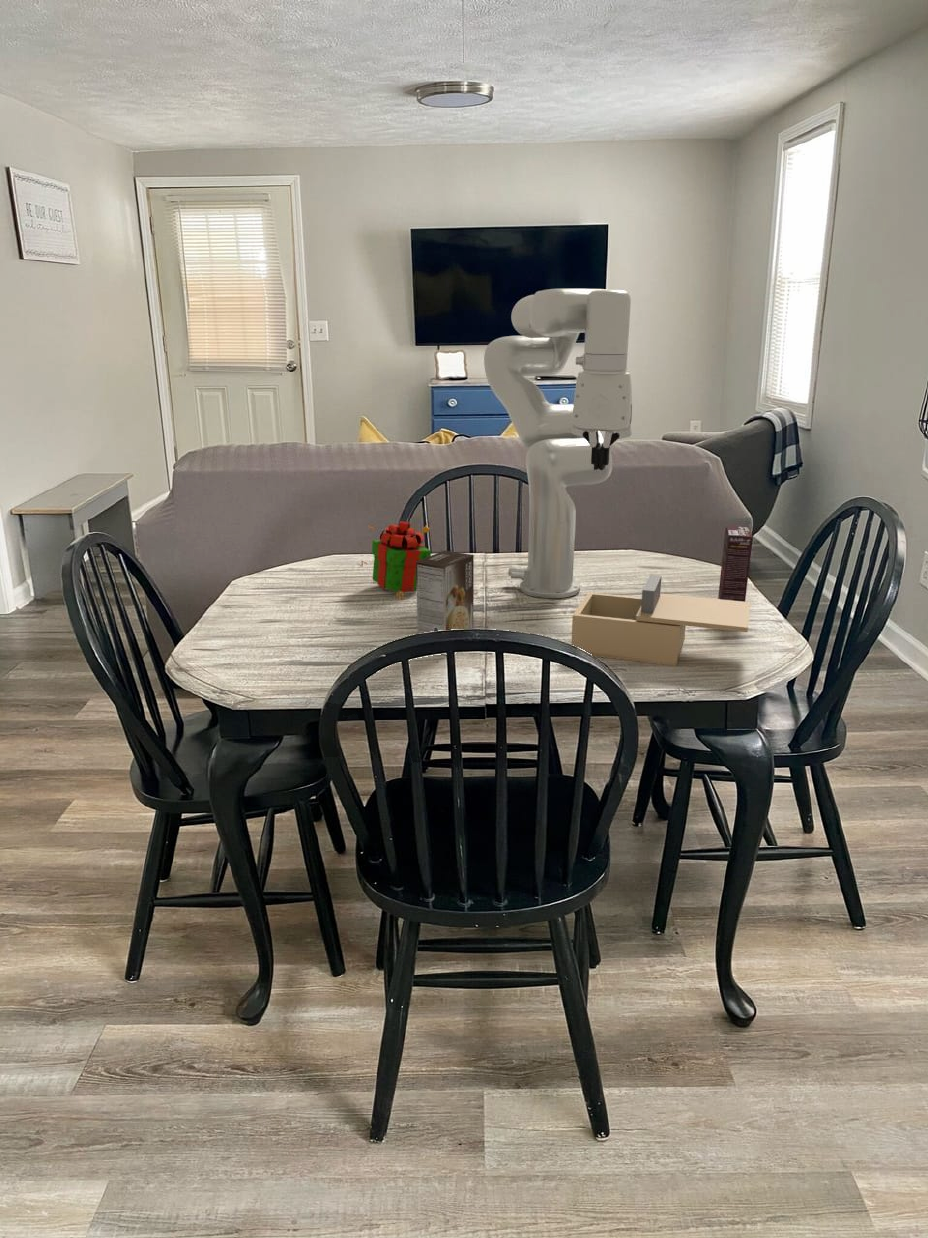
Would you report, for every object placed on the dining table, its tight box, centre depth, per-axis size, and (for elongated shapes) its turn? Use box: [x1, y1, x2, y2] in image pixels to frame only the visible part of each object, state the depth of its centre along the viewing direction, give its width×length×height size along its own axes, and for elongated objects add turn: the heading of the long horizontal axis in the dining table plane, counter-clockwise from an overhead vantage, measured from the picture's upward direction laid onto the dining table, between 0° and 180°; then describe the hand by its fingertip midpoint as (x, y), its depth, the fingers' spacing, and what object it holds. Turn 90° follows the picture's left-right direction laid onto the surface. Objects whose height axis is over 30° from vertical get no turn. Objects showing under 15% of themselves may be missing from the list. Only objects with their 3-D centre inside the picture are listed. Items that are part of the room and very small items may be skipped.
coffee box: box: [416, 550, 475, 634], centre depth 162 cm, size 9×6×16 cm
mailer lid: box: [636, 574, 752, 633], centre depth 158 cm, size 18×14×5 cm
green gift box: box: [357, 521, 432, 599], centre depth 197 cm, size 20×19×14 cm
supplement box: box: [717, 525, 754, 602], centre depth 183 cm, size 9×5×16 cm, turn 168°
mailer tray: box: [570, 591, 687, 667], centre depth 164 cm, size 18×14×7 cm
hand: (599, 468), depth 169 cm, fingers closed
